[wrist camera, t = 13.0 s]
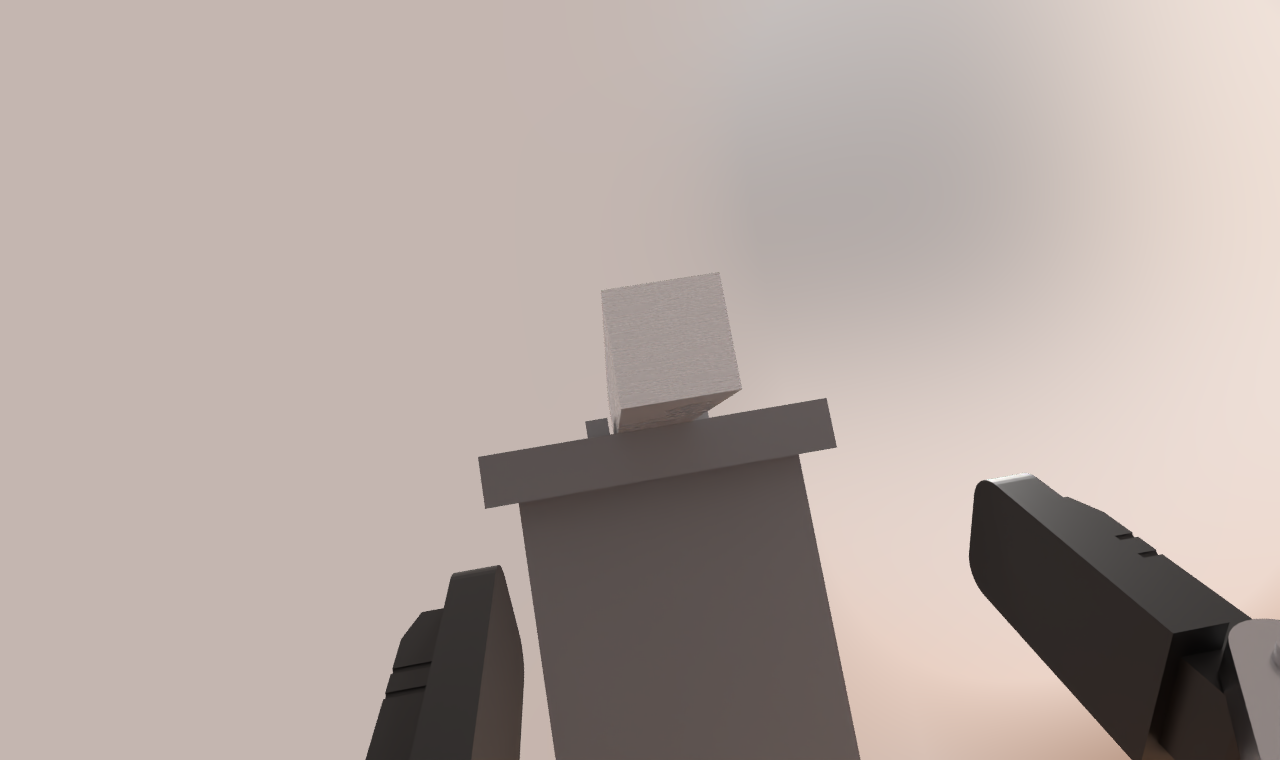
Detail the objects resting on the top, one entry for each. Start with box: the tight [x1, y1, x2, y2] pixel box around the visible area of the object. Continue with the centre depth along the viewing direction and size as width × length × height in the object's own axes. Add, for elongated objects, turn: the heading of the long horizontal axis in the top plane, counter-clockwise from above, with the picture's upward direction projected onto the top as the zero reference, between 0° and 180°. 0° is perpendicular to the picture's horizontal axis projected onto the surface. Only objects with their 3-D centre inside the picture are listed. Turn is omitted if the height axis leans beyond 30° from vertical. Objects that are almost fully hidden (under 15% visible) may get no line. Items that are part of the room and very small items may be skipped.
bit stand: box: [478, 398, 860, 760], centre depth 32 cm, size 16×16×33 cm
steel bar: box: [601, 272, 742, 434], centre depth 28 cm, size 25×3×3 cm, turn 2°
